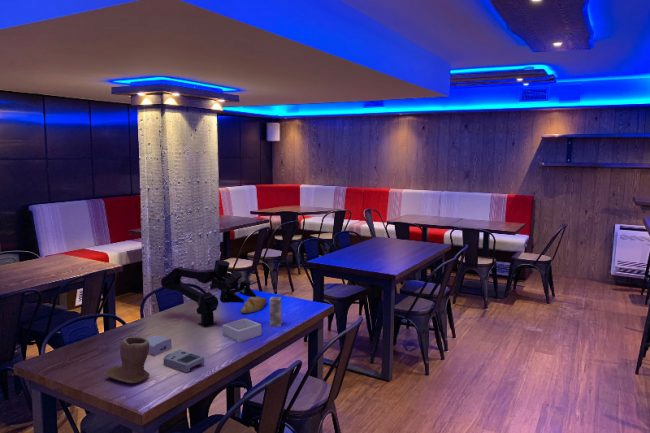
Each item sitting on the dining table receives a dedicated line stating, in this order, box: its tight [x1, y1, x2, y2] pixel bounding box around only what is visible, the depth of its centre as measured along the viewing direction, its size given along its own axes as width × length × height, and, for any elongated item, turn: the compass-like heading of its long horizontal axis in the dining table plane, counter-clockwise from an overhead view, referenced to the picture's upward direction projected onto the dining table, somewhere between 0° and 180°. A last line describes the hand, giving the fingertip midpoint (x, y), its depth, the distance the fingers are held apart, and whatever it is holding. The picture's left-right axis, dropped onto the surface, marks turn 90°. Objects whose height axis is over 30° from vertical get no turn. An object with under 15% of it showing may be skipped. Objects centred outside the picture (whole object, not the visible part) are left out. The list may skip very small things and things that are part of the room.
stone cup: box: [104, 336, 150, 384], centre depth 186 cm, size 15×12×15 cm
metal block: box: [269, 296, 283, 328], centre depth 241 cm, size 5×5×13 cm
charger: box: [145, 334, 172, 356], centre depth 214 cm, size 5×9×15 cm
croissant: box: [240, 295, 267, 314], centre depth 266 cm, size 21×10×8 cm, turn 153°
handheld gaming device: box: [163, 349, 205, 373], centre depth 198 cm, size 9×15×4 cm, turn 56°
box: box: [222, 317, 262, 343], centre depth 228 cm, size 12×12×5 cm
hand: (249, 298), depth 229 cm, fingers open, 9 cm apart
